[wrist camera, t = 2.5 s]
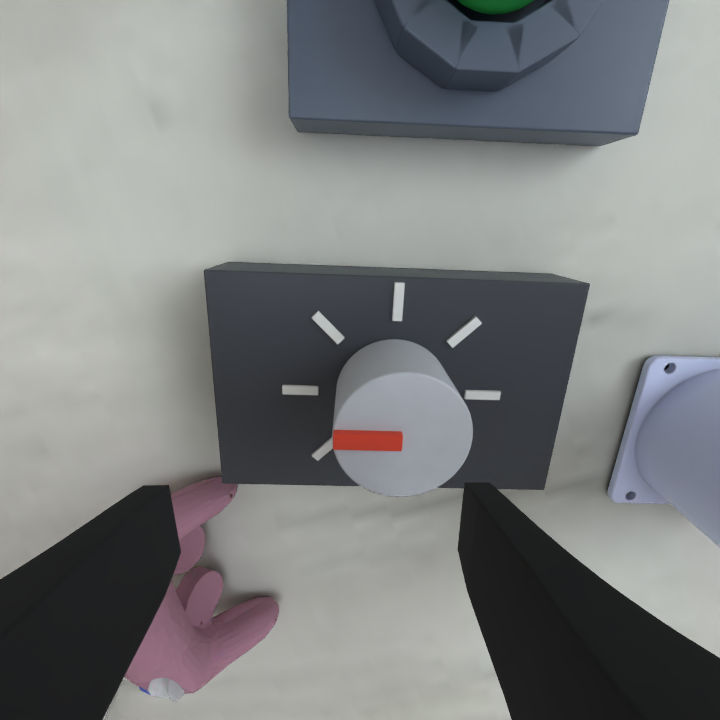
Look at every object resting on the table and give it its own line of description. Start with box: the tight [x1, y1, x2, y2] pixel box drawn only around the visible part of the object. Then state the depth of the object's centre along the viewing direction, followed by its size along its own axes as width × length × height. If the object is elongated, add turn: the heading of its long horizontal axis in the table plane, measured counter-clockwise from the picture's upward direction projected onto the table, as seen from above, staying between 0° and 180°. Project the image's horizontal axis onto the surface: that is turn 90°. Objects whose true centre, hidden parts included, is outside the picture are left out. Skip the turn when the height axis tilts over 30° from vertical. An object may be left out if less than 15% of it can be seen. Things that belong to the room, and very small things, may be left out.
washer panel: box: [204, 262, 590, 490], centre depth 17 cm, size 14×9×3 cm, turn 88°
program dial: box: [332, 339, 473, 497], centre depth 14 cm, size 4×4×4 cm
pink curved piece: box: [124, 477, 279, 701], centre depth 20 cm, size 10×5×7 cm, turn 11°
